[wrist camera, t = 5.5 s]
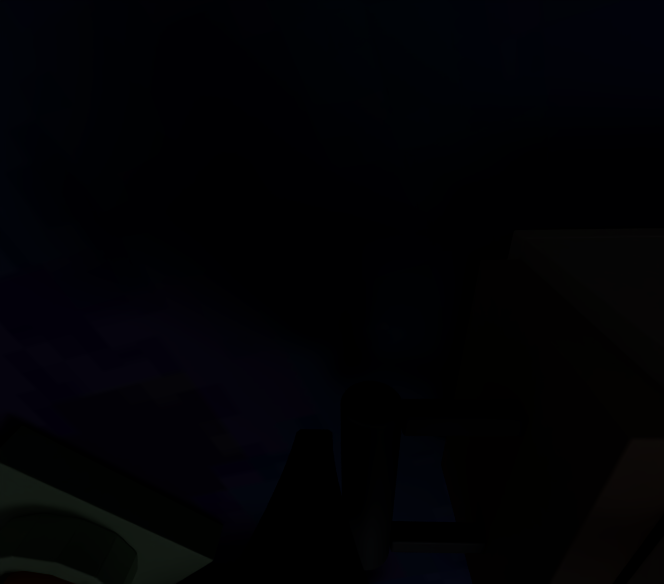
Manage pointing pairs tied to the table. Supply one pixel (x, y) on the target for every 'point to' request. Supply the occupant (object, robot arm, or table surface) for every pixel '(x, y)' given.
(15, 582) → the button
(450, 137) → the table surface
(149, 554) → the button block
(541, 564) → the drawer
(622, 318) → the cabinet
